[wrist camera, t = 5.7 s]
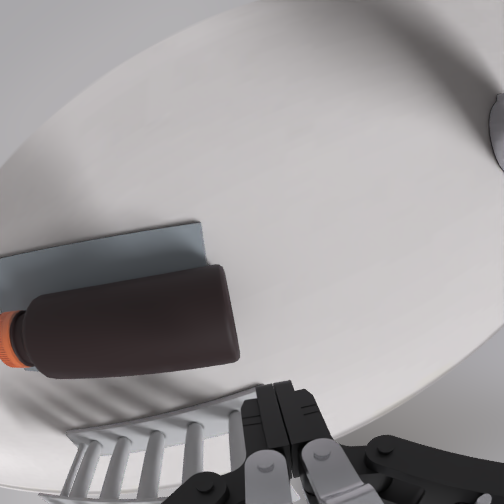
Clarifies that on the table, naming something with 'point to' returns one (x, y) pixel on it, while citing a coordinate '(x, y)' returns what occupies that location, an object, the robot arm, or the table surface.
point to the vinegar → (125, 327)
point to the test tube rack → (152, 449)
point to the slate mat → (98, 263)
